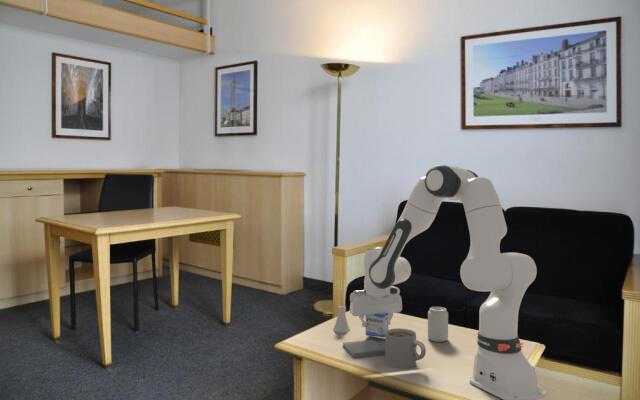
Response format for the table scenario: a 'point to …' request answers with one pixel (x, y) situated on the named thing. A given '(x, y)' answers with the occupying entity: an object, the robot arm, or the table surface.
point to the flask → (341, 321)
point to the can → (438, 324)
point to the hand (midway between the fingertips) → (376, 325)
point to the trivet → (364, 348)
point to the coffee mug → (402, 348)
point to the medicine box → (377, 324)
